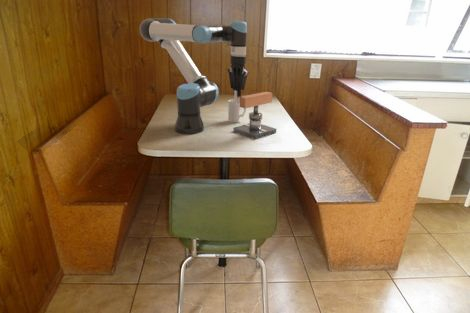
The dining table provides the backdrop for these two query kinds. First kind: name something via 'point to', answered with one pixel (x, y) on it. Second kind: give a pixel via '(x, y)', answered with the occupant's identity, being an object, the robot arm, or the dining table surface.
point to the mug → (234, 111)
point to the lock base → (256, 132)
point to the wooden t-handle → (255, 103)
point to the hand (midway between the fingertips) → (237, 102)
